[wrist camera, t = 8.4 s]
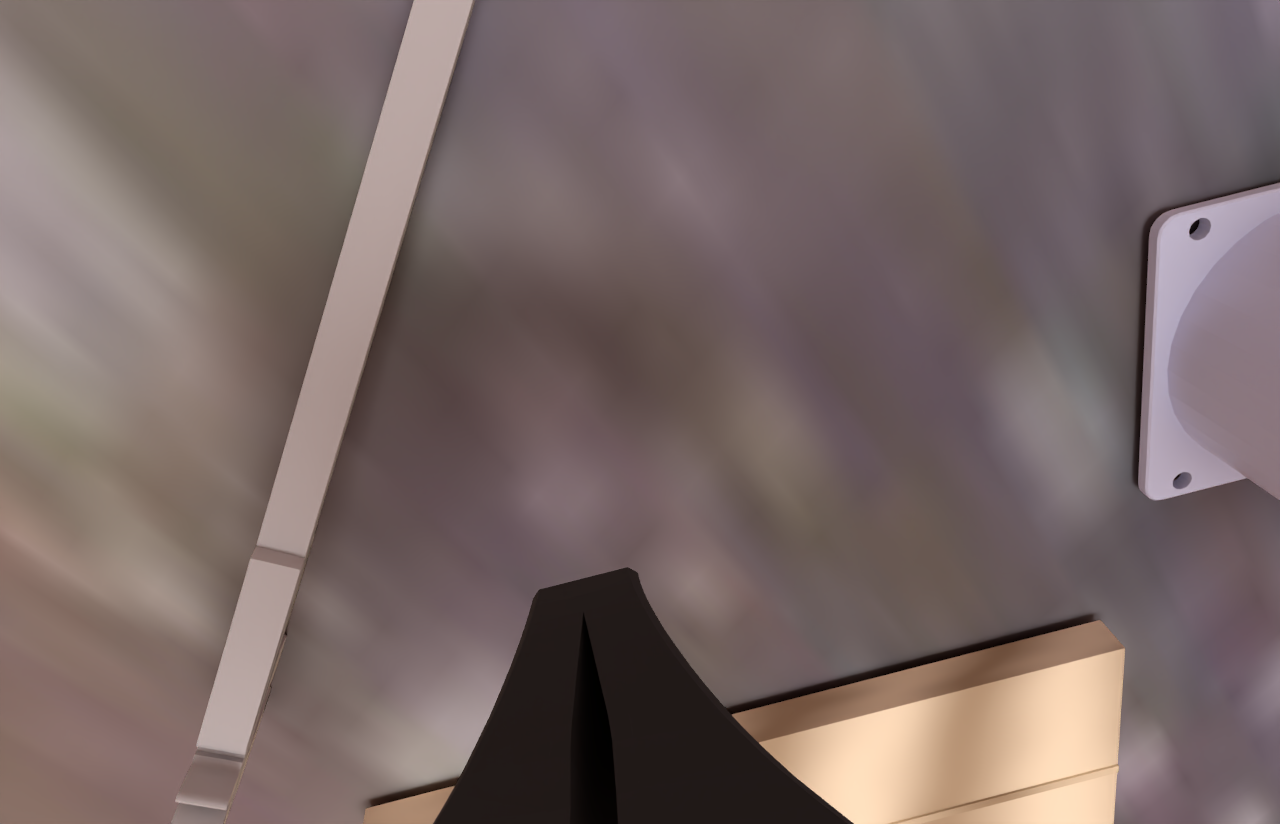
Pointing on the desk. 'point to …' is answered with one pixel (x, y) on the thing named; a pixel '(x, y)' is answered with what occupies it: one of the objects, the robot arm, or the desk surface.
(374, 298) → the caliper
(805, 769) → the loose plank
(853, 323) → the desk surface
